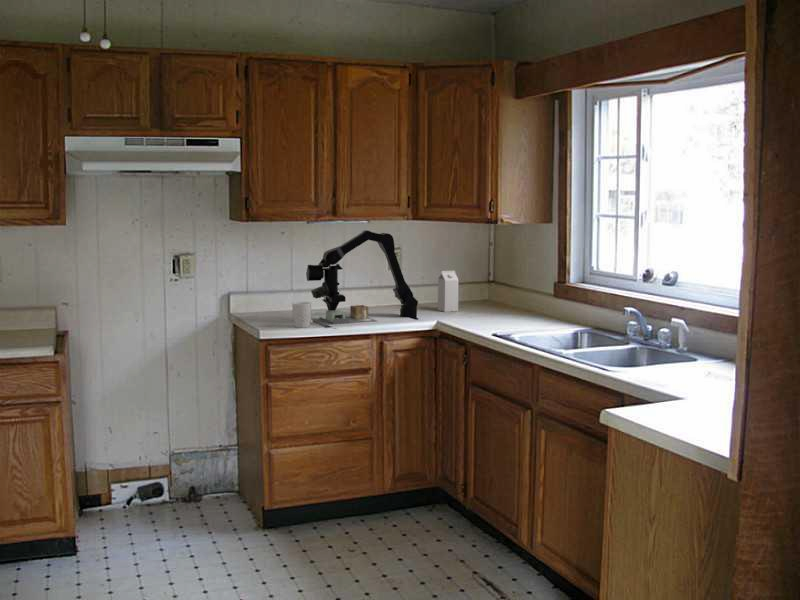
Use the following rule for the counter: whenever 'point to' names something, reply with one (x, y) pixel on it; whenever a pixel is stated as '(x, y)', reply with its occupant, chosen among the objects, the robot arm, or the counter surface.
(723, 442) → the counter surface
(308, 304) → the white cup
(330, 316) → the housing
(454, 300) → the milk carton
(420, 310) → the counter surface
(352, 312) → the collar
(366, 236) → the robot arm
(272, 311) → the counter surface
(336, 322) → the board
